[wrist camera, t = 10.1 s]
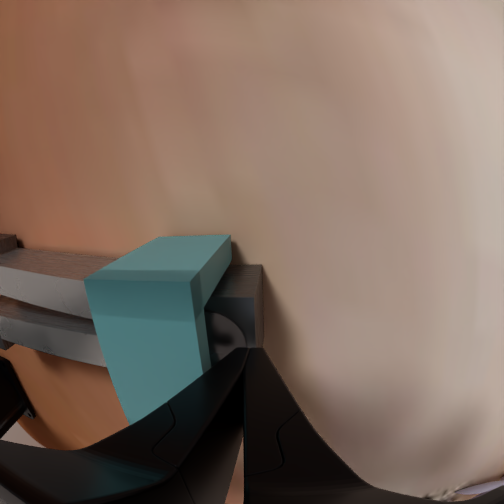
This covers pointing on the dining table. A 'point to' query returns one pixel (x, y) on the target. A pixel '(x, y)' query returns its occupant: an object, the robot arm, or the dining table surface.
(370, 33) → the dining table surface
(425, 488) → the dining table surface
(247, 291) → the tong frame
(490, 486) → the purple flower
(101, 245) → the dining table surface
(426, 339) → the dining table surface
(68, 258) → the tong arm
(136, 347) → the teal notched block
